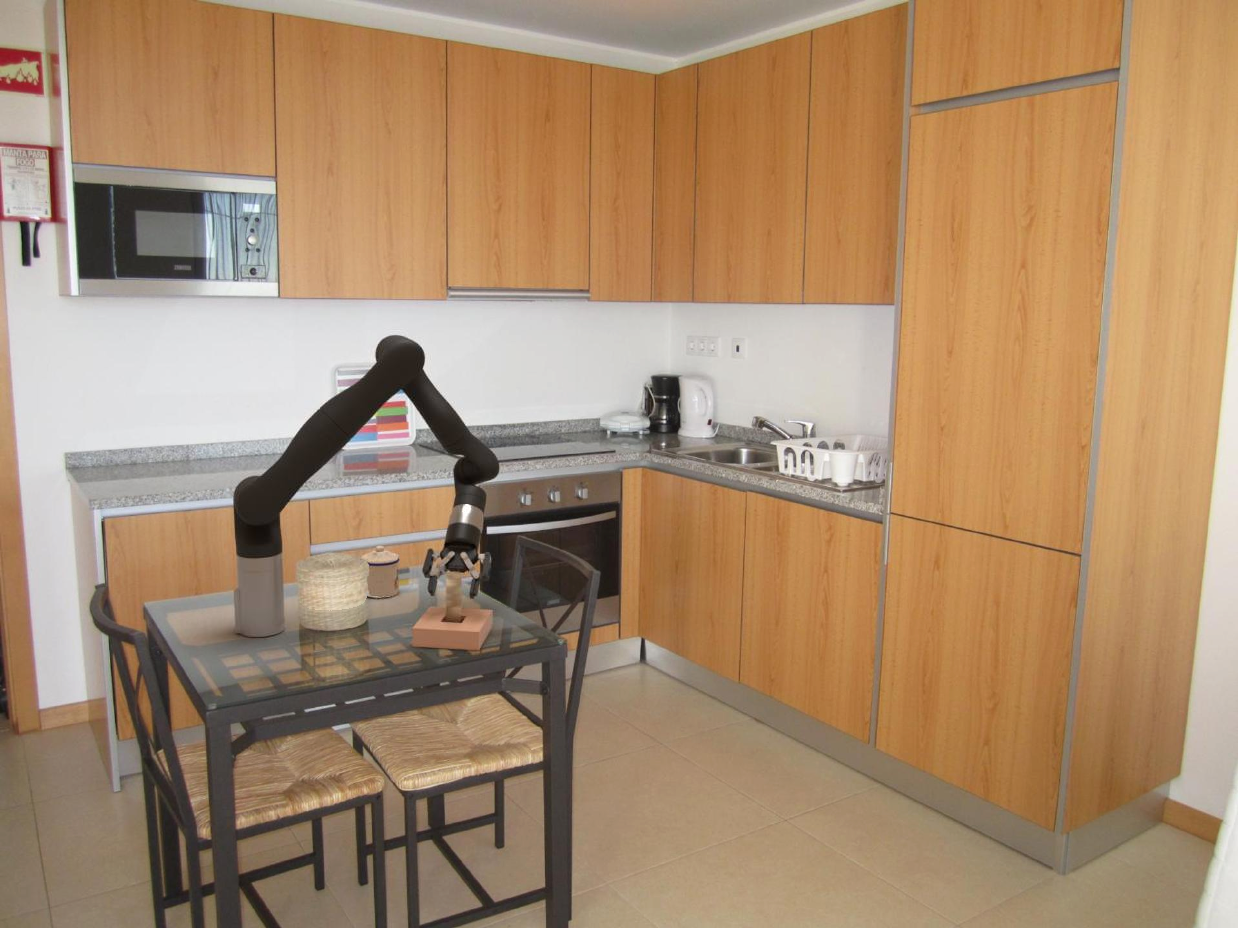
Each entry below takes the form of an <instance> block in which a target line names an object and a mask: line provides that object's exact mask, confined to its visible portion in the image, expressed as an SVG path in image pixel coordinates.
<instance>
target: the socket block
mask: <svg viewBox="0 0 1238 928" xmlns="http://www.w3.org/2000/svg"><path fill="white" fill-rule="evenodd" d="M493 613H494V610H493V609H481V608H480V609H479V608H466V607H465V608H462V607H461V623H452V622H446V606H429V607H428V609H427V610H426V611H425V612H424V613H423V615H422V616H421V617H420V618H419V619H418V621H417V622H416V623H415V625H414V626H413V627H412V628H411V629H412V631H411V632H412V636H411V637H412V647H414V648H415V647H417V648H432V649H434V648H435V649H448V650H449V649H450V650H451V649H452V650H464V651H465V650H468V651H480V649H481V647H482V646H483V644H484V643H485V640H486V639H487V638H488V636H489V634H490V633H491V631H492V629H493V623H494V622H493V618H494V617H493V615H494V614H493Z"/></svg>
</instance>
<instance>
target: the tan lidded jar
mask: <svg viewBox="0 0 1238 928" xmlns="http://www.w3.org/2000/svg"><path fill="white" fill-rule="evenodd" d="M361 558H362V559H364V560H365V561H367V563H368V564H369V570H370V571H369V576H368V580H367V581H368V589H369V594H370V595H371V596H378V597H383V596H384V597H387V596H392V597H395V596H396V595H398V594H399V590H400V587H399V586H400V585H399V578H400V577H399V561H400V557H399V555H398V554H397V553H394V552H390V551H389V550H386V549H385V547H384V546H383V545H378V546H375V549H374V550H372V551H370V552H368V553H365V554H363V555H362V556H361ZM361 558H360V559H361ZM394 595H395V596H394Z"/></svg>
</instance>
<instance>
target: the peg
mask: <svg viewBox="0 0 1238 928" xmlns="http://www.w3.org/2000/svg"><path fill="white" fill-rule="evenodd" d="M445 607H446V622H452V623H461V608H462V573H460V572H450V571H448V572H447V573H446V574H445Z"/></svg>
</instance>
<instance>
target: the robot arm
mask: <svg viewBox="0 0 1238 928" xmlns="http://www.w3.org/2000/svg"><path fill="white" fill-rule="evenodd" d="M374 352H375V353H374V354H375V355H374V357H375V363H374V365H373V366H372V367H371V368H370V369H369V370H368V371H367V372H366V374H365V375H363V376H362V377H361V378H360V379H358V381H356V382H355V383H353V384H352V385H350V386H349V387H347V388H346V389H344V390H342V391H340V392H339V393H337V394H336V395H334V396H332V397H331V398H330V399H328V400H326V401H325V403H324V404H322V405H321V406H320V407H319V408H318V409H317V410H316V411H315V412H314V413H313V414H312V415H311V416H310V417H309V418H308V419H306V421H305V422H304V423H303V424H302V426H301V427H300V428H299V430H298V431H297V432H296V434H295V435H294V436H293V438H292V439H291V441H290V443H289V444H288V445H287V447H286V449H285V450H284V452H283V453H282V454H281V455H280V456H279V458H278V459H277V461H275V463H273V464H272V465H271V466H270V467H269V468H267V470H266V471H265V472H264V473H262V474H261V475H251V476H248V477H245V478H244V479H243V480H241V481H240V482H239V483H237V486H235V490H234V492H233V499H232V502H233V523H234V524H233V525H234V527H233V528H234V539H235V540H234V541H235V553H236V555H235V556H236V574H237V578H236V579H237V587H236V588H235V589H234V590H233V605H234V630H235V634H240V635H242V636H244V637H250V638H262V637H264V638H265V637H270V636H274V635H277V634H280V633H282V632H284V630H285V628H286V627H285V626H286V625H285V622H286V621H285V620H286V619H285V597H284V596H285V594H284V593H285V589H284V565H283V564H284V562H283V559H284V558H283V538H282V537H283V536H282V529H281V528H282V527H281V513H282V511H283V510H284V509H285V507H286V506H287V505H288V504H289V503H290V502H291V500H292V499H293V498H294V497H295V495H296V494H297V493H298V492H299V490H300V489H301V488H302V487H303V486H304V484H306V483H307V481H308V480H309V479H311V477H313V476H314V475H315V474H317V473H318V471H320V470H321V469H322V468H323V467H324V466H325V465H327V464H328V462H329V461H330V460H332V459H333V458H334V457H335V456H336V455H337V454H338V453H339V452H341V450H342V449H343V448H344V447H345V446H346V445H348V443H349V442H350V441H351V440H352V439H353V438H354V437H355V436H356V435H357V434H358V433H359V432H360V430H361V429H363V427H365V425H367V423H368V422H369V421H370V420H372V418H373V417H374V416H375V414H377V413H378V411H380V409H381V408H382V407H383V406H384V405H386V403H387V402H388V401H390V400H391V398H392V397H394V396H395V395H396V394H398V392H400V391H402V392H403V393H404V394H405V395H406V397H407V398H408V400H409V401H410V402H411V403H412V404H413V406H414V407H415V409H416V410H417V412H418V413H419V415H420V416H421V418H422V419H423V420H424V422H425V423H426V426H427V427H428V428H429V429H430V431H431V433H432V434H433V435H434V437H435V438H436V440H437V441H438V443H439V445H441V447H442V448H443V449H444V451H445V452H446V453H447V454H448V455H451V456H461V457H459V459H458V460H457V461H456V462H455V464H454V466H453V471H452V472H453V483H454V484H453V485H454V494H455V496H454V501H453V506H452V510H451V513H450V516H449V519H448V523H447V529H446V533H445V538H444V543H443V548H442V550H441V551H437V550H436V551H435V550H434V549H433V548H430V547H429V548H428V550H427V553H426V556H425V559H424V563H423V565H422V568H421V569H422V570H421V571H422V574H423V576H424V578H426V579H428V583H427V587H426V588H427V592H428V593H429V594H430V596H431V597H435V594H436V591H437V590H436V589H437V585H438V580H439V578H441V577H442V576H445V575H446V573H448V572H460V573H461V574H465V573H466V572H468V574H469V575H470V577H471V582H470V588H469V592H468V593H469V594H468V596H469V598H470V599H473V600H474V599H475V597H477V596H478V593H479V589H480V584H481V583H482V582H485V583H486V582H489V581H490V576H491V567H492V556H491V553H490V551H486V552H484V553H479V548H480V544H481V543H480V542H481V538H482V533H483V529H484V528H483V527H484V513H485V511H486V510H485V508H486V504H487V494H486V491H485V490H484V489H483V488H482V487H481V486H477V485H478V484H482V483H485V482H489V481H493V480H494V479H496V478H497V477H498V475H499V473H500V462H499V459H498V457H497V455H496V454H495V453H494V451H492V449H491V448H489V447H488V446H487V445H486V444H485V443H484V442H483V441H481V440H480V439H479V438H478V437H477V436H475V435H474V434H473V433H472V432H471V431H470V430H469V428H468V426H467V425H466V424H465V422H464V420H463V419H462V417H461V416H460V414H458V412H457V411H456V410H455V408H454V407H453V406H452V405H451V403H449V401H448V400H447V399H446V398H445V397H444V396H443V395H442V393H441V392H440V391H439V390H438V389H437V387H436V386H435V385H434V383H432V381H431V380H430V377H428V375H427V374H426V372H425V370H424V366H425V363H426V354H425V351H424V349H423V348H422V346H421V344H419V343H418V342H416V341H415V340H413V339H411V338H408V337H407V336H405V335H404V336H403V335H399V334H391V335H387V336H385V337H384V338H382V339H381V340H380V341H379V342H378V344H377V346H376V348H375V351H374ZM438 559H440V561H439V562H438V563H437V564H436V565H435V567H434V568H433V566H434V563H435V562H436V561H437V560H438ZM479 561H480V562H481V564H482V573H479V572H478V571H477V570H476V568H475V566H474V565H476V563H478V562H479Z"/></svg>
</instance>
